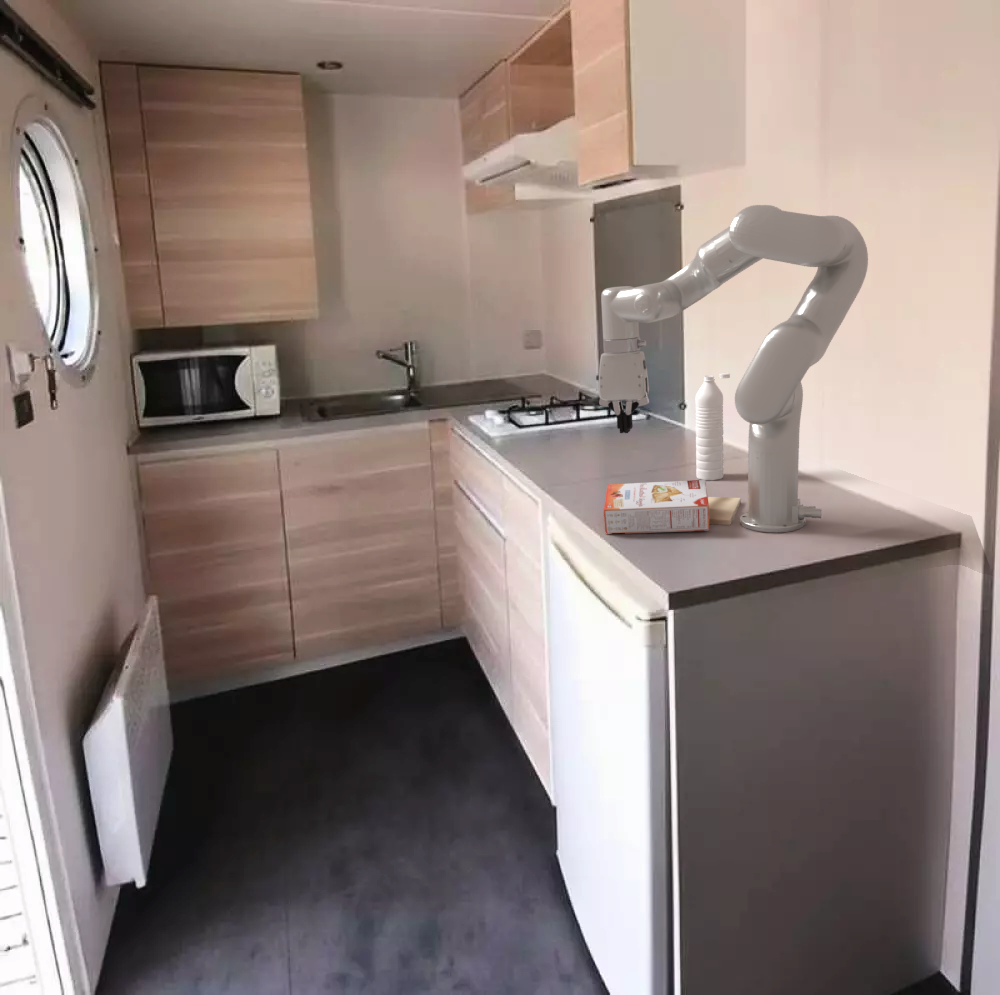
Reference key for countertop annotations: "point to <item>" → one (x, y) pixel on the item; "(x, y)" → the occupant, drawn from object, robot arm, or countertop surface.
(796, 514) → the robot arm
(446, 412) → the countertop surface
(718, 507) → the cutting board
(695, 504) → the cracker box
